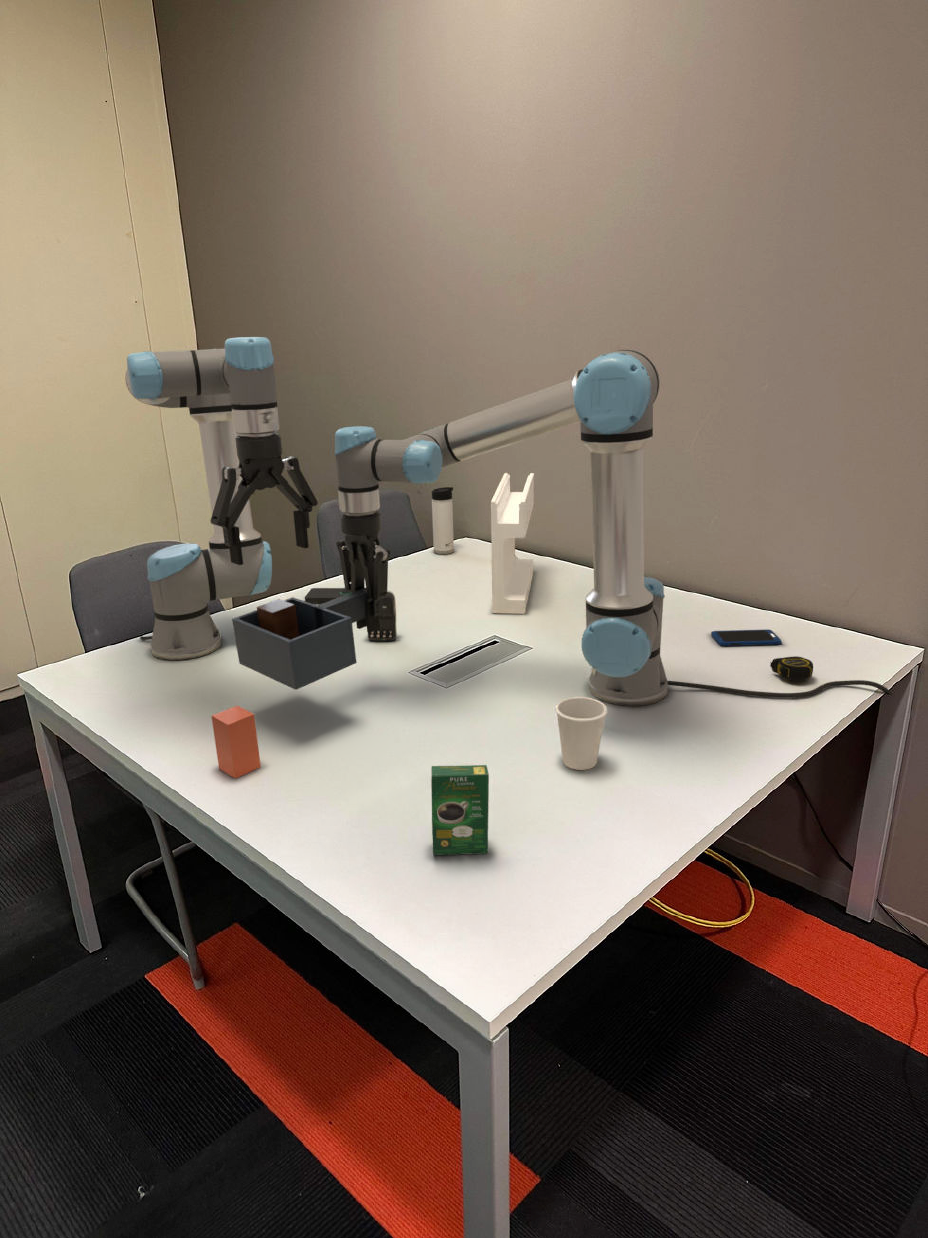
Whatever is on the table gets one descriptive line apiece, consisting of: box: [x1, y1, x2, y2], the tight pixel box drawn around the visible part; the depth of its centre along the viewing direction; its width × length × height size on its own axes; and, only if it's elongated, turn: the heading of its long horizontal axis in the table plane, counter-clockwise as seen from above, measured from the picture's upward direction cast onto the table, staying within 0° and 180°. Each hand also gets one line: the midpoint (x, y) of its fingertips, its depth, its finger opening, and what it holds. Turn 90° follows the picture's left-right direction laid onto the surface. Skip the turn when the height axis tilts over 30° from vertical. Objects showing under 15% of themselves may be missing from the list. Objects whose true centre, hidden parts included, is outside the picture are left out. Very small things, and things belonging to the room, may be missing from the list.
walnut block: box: [256, 598, 299, 640], centre depth 157 cm, size 5×5×10 cm
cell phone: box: [710, 629, 782, 647], centre depth 191 cm, size 7×14×1 cm, turn 91°
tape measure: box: [769, 655, 814, 682], centre depth 171 cm, size 7×7×4 cm
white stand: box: [490, 472, 535, 615], centre depth 222 cm, size 35×8×28 cm, turn 172°
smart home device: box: [304, 587, 351, 604], centre depth 224 cm, size 8×2×20 cm
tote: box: [231, 587, 383, 691], centre depth 160 cm, size 27×18×9 cm, turn 137°
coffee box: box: [430, 764, 490, 856], centre depth 119 cm, size 8×3×13 cm, turn 92°
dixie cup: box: [555, 696, 608, 771], centre depth 141 cm, size 8×8×10 cm
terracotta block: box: [211, 705, 262, 780], centre depth 142 cm, size 5×5×10 cm
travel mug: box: [431, 486, 455, 555], centre depth 260 cm, size 6×7×20 cm
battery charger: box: [367, 590, 398, 642], centre depth 195 cm, size 7×4×11 cm, turn 86°
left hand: (270, 555), depth 151 cm, fingers open, 13 cm apart
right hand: (368, 628), depth 168 cm, fingers closed on tote, 2 cm apart
